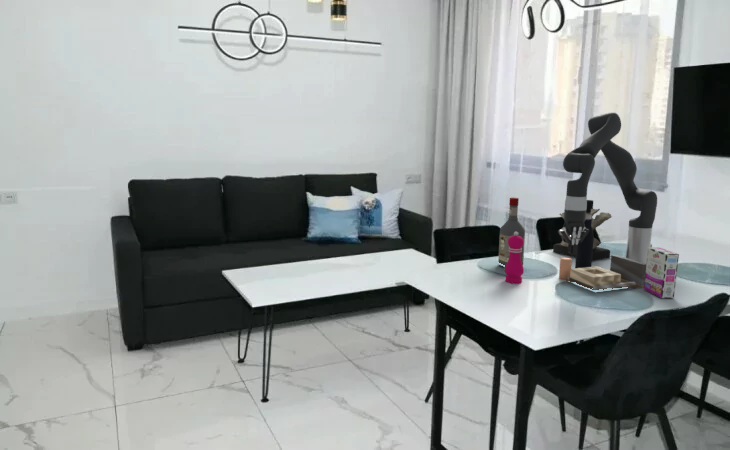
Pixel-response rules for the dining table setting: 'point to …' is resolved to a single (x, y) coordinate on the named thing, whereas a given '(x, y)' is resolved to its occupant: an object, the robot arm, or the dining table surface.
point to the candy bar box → (661, 272)
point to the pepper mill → (514, 259)
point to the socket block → (594, 276)
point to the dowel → (565, 268)
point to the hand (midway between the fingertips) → (571, 254)
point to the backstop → (624, 273)
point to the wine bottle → (586, 242)
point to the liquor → (510, 233)
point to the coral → (597, 251)
